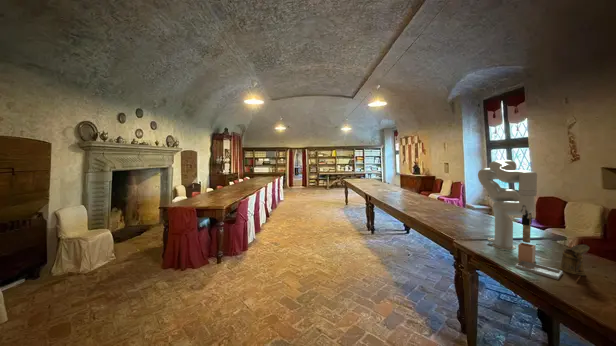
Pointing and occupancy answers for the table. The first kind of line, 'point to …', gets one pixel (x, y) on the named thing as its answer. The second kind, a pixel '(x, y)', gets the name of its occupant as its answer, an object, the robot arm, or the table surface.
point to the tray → (539, 269)
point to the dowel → (527, 232)
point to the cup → (526, 252)
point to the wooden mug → (574, 259)
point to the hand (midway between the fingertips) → (526, 224)
